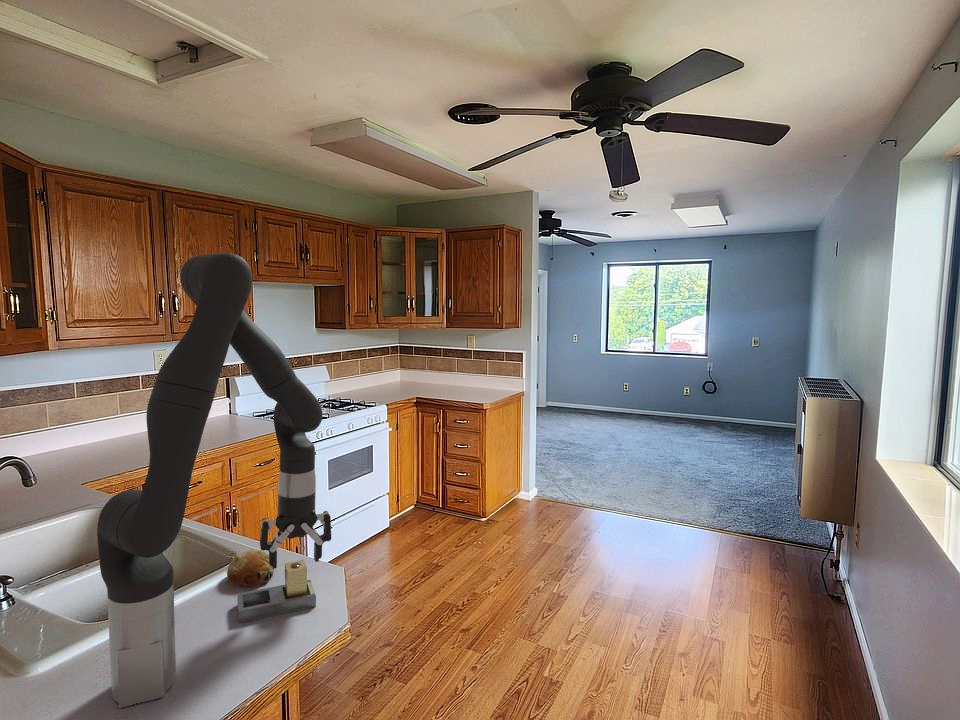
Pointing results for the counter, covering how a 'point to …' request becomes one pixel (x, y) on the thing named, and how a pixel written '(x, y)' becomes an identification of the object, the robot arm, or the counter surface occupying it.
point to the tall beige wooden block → (295, 579)
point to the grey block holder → (272, 602)
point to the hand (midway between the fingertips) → (295, 563)
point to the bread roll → (250, 569)
